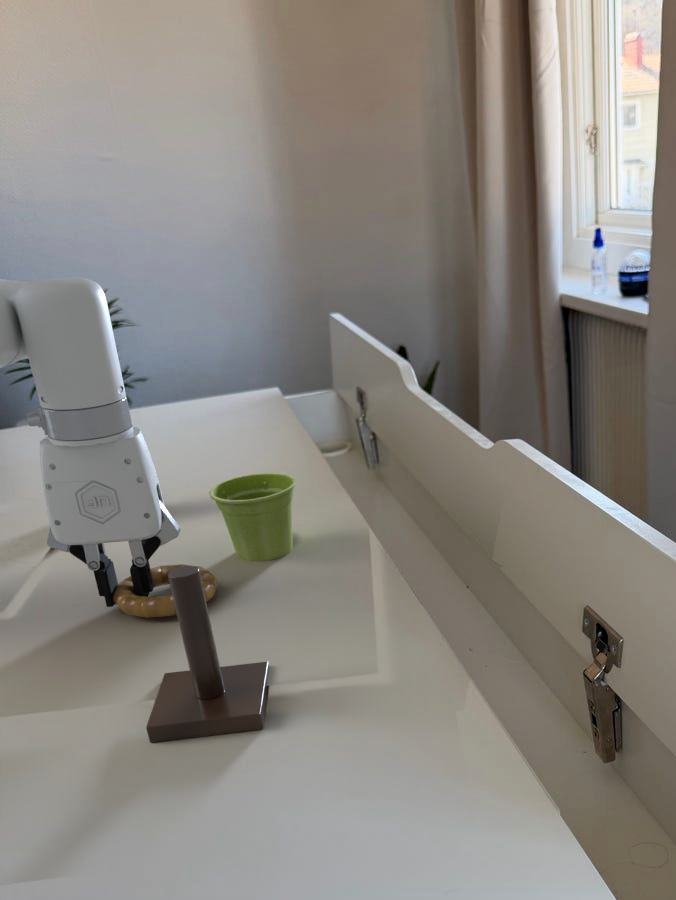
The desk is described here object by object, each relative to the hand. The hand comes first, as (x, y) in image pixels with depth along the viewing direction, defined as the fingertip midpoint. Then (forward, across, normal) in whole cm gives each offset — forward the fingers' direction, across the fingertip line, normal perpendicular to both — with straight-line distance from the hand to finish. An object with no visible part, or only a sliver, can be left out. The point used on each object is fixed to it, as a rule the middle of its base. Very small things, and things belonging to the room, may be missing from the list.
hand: (128, 598), depth 99 cm
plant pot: (+2, +13, +12) cm, 18 cm away
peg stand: (+2, +11, -21) cm, 24 cm away
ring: (-1, +4, 0) cm, 4 cm away
